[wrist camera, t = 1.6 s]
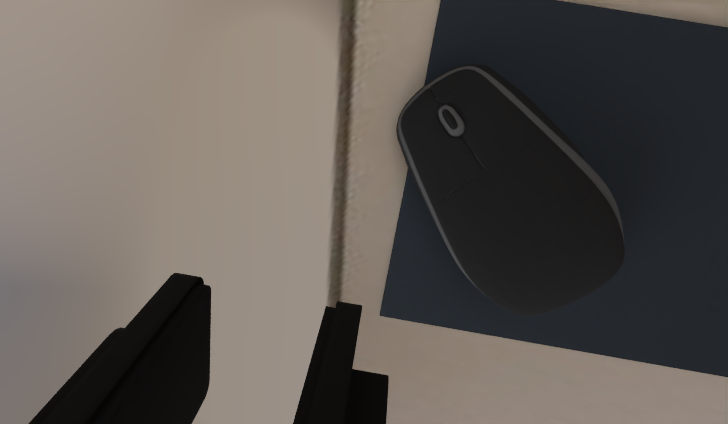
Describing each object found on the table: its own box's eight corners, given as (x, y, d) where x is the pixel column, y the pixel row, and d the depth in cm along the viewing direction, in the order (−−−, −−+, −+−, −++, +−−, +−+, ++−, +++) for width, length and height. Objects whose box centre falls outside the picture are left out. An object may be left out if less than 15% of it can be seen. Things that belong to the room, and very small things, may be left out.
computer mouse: (499, 26, 19) (519, 31, 15) (641, 248, 22) (686, 295, 19) (361, 130, 21) (351, 156, 18) (509, 318, 25) (526, 373, 21)
